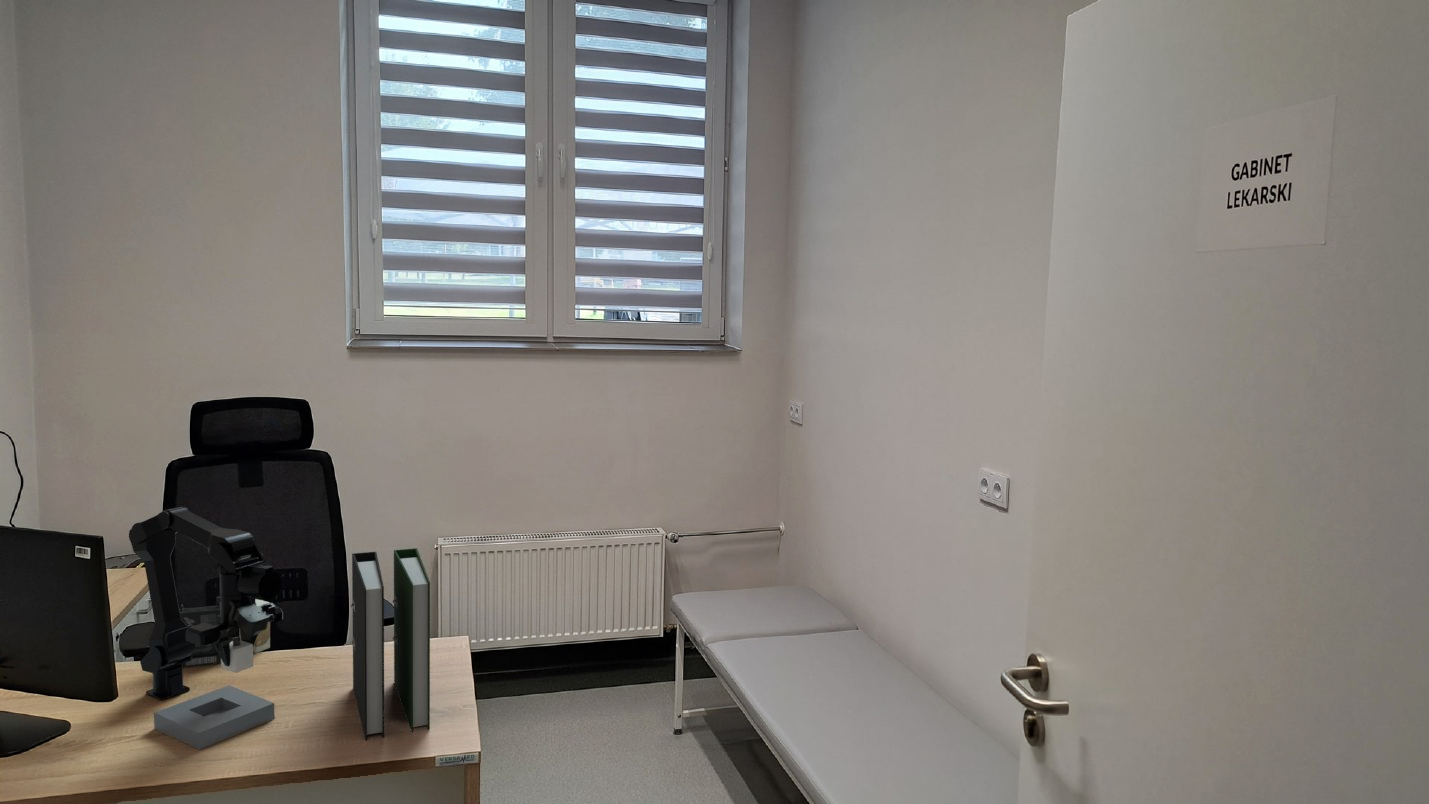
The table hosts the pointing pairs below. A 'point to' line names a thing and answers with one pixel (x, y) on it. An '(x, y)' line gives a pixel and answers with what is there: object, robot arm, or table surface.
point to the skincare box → (261, 634)
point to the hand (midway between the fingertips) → (236, 662)
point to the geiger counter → (195, 617)
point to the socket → (213, 716)
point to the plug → (239, 656)
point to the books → (406, 637)
